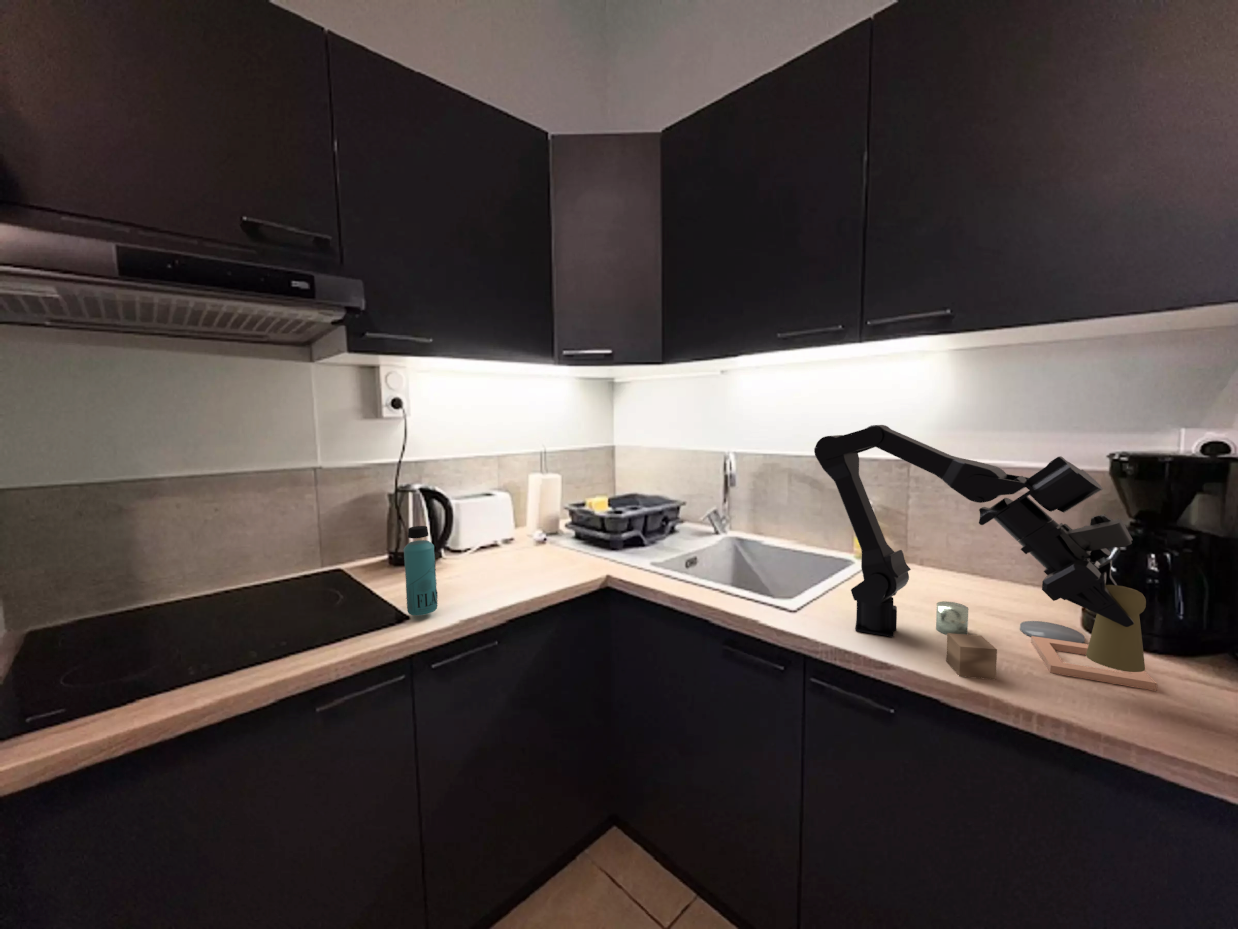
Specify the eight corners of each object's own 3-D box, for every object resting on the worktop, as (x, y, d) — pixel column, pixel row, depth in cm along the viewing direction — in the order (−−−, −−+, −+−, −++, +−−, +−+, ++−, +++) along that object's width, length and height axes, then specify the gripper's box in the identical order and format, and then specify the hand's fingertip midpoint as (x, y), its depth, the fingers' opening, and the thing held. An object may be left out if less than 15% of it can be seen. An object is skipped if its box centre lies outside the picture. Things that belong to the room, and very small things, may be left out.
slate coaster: (1026, 639, 89) (1026, 635, 89) (1014, 621, 97) (1015, 617, 97) (1092, 649, 85) (1092, 645, 85) (1074, 630, 93) (1075, 626, 93)
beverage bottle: (415, 625, 102) (409, 531, 101) (401, 617, 107) (396, 527, 105) (444, 615, 107) (439, 526, 105) (430, 608, 111) (425, 522, 110)
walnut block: (959, 676, 77) (960, 646, 77) (946, 661, 82) (947, 633, 82) (995, 680, 76) (997, 649, 76) (980, 664, 81) (981, 635, 80)
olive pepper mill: (1083, 647, 75) (1088, 577, 74) (1140, 659, 71) (1146, 586, 70) (1087, 663, 70) (1093, 589, 69) (1149, 676, 66) (1156, 598, 65)
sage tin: (937, 634, 92) (937, 608, 92) (934, 624, 97) (935, 599, 96) (969, 639, 90) (970, 613, 90) (965, 629, 94) (966, 603, 94)
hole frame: (1050, 672, 78) (1050, 665, 77) (1031, 642, 88) (1031, 636, 88) (1156, 691, 72) (1156, 683, 72) (1122, 656, 82) (1122, 649, 82)
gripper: (1079, 506, 65) (1200, 610, 58) (1095, 491, 77) (1196, 575, 70) (1002, 553, 72) (1102, 650, 64) (1028, 532, 84) (1114, 612, 77)
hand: (1131, 620), depth 69 cm, fingers closed on olive pepper mill, 5 cm apart
